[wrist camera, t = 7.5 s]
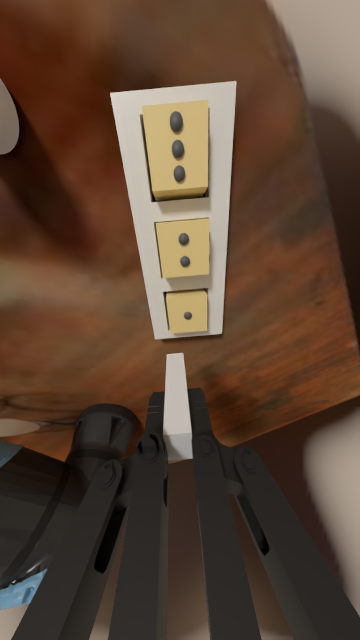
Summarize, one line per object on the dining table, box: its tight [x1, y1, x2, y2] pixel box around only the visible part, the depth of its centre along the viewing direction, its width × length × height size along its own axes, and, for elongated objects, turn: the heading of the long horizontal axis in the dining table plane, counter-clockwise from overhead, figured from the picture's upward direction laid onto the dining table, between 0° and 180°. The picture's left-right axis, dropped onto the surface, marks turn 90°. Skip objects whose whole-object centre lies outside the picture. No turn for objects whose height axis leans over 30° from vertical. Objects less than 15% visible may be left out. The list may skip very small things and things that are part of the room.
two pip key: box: [156, 218, 210, 278], centre depth 19 cm, size 6×6×4 cm
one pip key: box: [166, 289, 208, 334], centre depth 24 cm, size 6×6×4 cm
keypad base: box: [110, 81, 236, 339], centre depth 21 cm, size 28×12×2 cm, turn 4°
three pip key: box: [142, 100, 209, 201], centre depth 16 cm, size 6×6×4 cm
